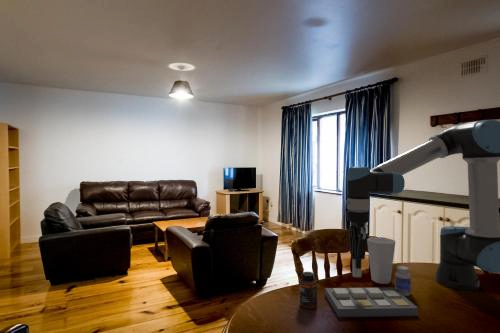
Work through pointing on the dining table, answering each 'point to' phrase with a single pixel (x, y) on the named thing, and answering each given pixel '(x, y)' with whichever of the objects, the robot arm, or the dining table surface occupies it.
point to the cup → (381, 258)
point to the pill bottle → (403, 280)
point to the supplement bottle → (308, 291)
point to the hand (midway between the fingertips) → (356, 276)
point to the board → (371, 305)
